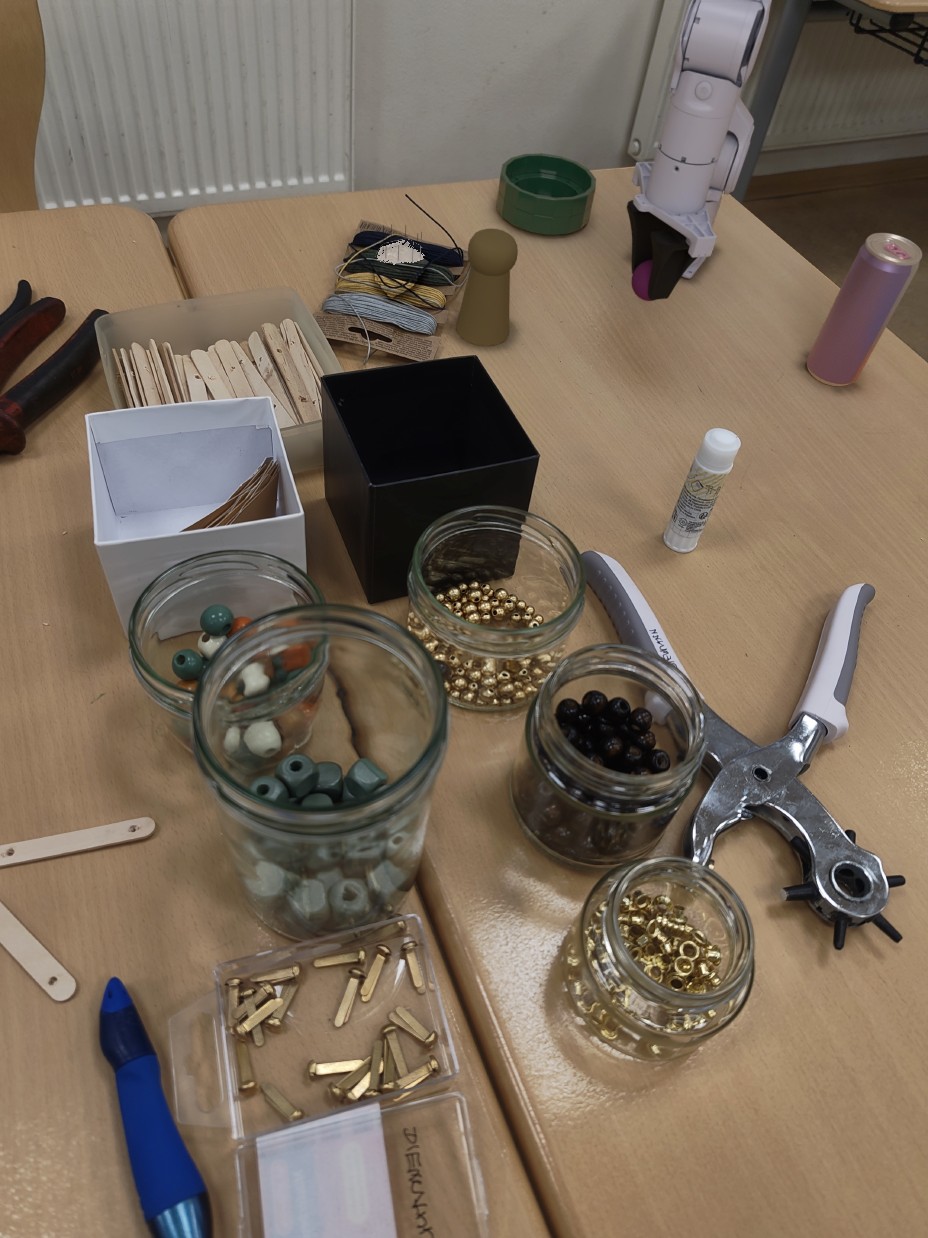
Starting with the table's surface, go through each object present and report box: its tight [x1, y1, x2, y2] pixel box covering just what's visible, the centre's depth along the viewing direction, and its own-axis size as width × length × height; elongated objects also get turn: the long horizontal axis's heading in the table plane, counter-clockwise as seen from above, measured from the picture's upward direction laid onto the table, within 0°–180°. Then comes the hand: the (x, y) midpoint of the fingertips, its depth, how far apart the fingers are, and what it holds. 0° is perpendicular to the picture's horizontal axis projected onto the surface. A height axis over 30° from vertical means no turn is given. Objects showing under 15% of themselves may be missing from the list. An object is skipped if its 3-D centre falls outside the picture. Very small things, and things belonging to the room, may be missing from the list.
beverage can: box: [806, 232, 923, 387], centre depth 92 cm, size 6×6×15 cm
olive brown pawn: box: [455, 227, 519, 347], centre depth 92 cm, size 6×6×11 cm
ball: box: [631, 260, 658, 302], centre depth 90 cm, size 4×4×4 cm
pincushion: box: [377, 224, 425, 265], centre depth 100 cm, size 12×6×6 cm, turn 172°
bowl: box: [495, 152, 597, 236], centre depth 112 cm, size 12×12×5 cm
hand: (649, 285), depth 90 cm, fingers closed on ball, 4 cm apart
